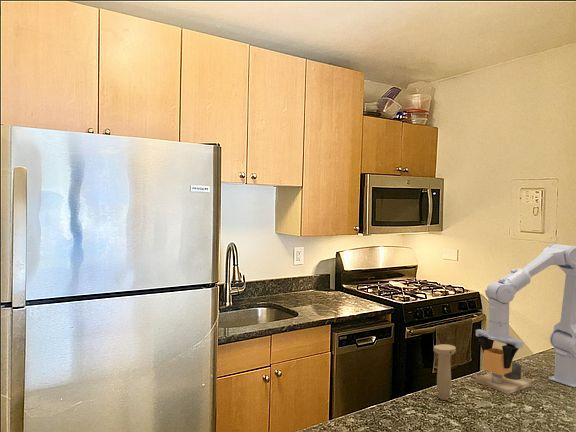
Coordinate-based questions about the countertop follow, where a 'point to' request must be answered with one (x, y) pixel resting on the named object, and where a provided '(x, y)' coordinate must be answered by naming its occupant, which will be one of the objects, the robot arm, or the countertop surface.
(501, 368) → the sleeve
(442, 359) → the handle
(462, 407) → the countertop surface
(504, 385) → the fitting board
